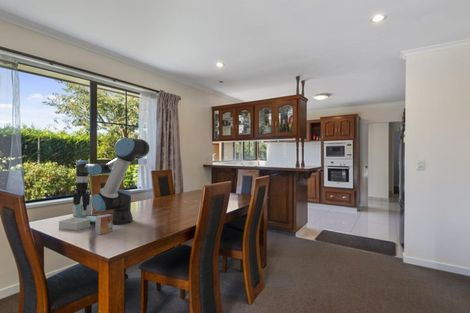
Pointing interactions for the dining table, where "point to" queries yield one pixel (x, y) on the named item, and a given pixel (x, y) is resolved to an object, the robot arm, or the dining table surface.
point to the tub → (74, 224)
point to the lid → (79, 215)
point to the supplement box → (88, 211)
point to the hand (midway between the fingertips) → (80, 214)
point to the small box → (104, 224)
